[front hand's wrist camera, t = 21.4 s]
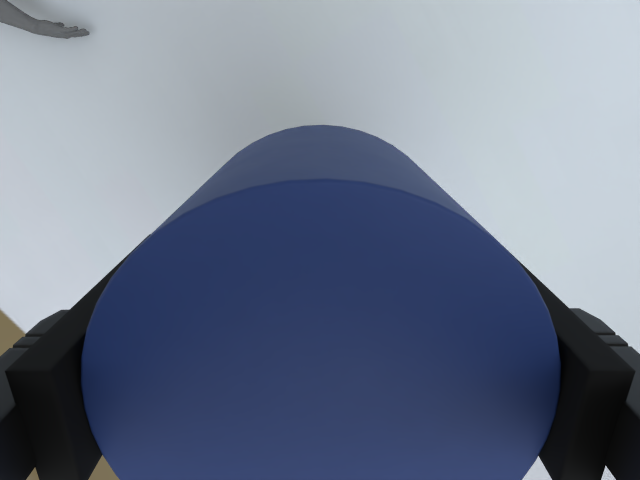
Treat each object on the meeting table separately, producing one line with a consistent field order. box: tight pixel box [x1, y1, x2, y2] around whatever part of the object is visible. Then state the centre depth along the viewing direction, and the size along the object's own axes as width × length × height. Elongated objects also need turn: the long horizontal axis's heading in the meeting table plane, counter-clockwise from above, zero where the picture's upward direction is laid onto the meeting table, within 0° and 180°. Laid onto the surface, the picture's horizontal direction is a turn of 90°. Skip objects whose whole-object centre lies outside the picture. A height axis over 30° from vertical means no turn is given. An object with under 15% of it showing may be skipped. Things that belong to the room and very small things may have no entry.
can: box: [81, 125, 561, 480], centre depth 12 cm, size 9×9×8 cm
